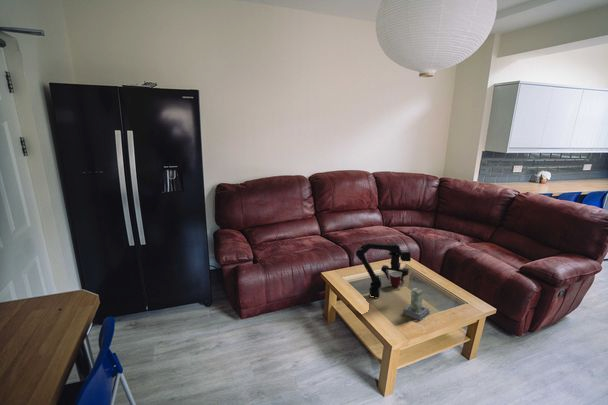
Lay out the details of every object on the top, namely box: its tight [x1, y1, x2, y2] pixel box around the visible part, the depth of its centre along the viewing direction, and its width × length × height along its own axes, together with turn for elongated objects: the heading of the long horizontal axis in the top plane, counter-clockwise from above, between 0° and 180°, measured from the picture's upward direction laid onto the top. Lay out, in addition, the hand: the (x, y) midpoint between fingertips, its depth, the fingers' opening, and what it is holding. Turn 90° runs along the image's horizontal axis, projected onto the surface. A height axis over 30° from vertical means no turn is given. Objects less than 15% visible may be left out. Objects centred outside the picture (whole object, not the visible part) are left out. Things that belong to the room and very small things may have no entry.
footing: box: [402, 303, 431, 322], centre depth 190 cm, size 12×12×4 cm
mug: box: [389, 272, 405, 289], centre depth 228 cm, size 10×8×10 cm
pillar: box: [410, 287, 423, 313], centre depth 189 cm, size 5×5×14 cm
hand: (394, 281), depth 210 cm, fingers open, 9 cm apart
